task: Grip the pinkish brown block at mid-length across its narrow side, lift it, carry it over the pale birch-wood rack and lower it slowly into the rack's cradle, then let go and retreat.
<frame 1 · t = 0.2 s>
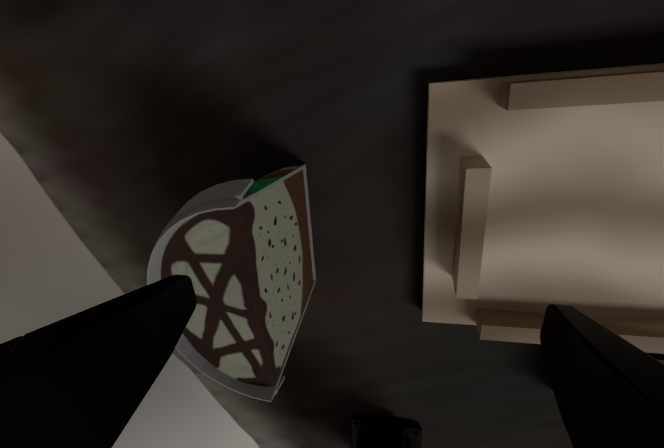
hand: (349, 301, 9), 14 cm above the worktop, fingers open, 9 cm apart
rack: (618, 213, 20), on the worktop
food container: (272, 224, 25), on the worktop
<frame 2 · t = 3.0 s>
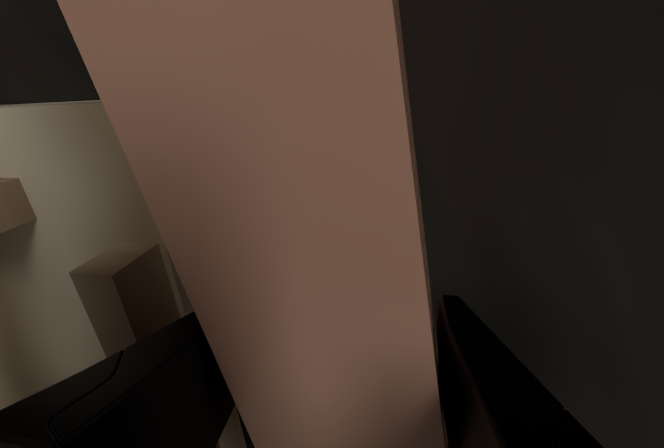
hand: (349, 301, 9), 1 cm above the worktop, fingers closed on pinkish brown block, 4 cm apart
rack: (67, 370, 15), on the worktop
pinkish brown block: (356, 273, 10), on the worktop, touching gripper
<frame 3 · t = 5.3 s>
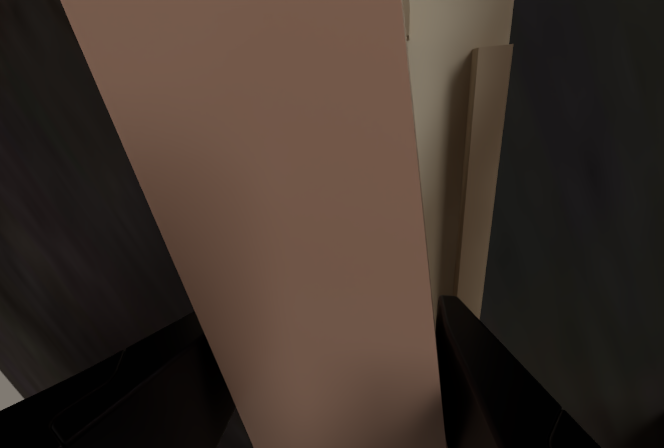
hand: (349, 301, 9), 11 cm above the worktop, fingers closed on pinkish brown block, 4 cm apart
rack: (337, 203, 20), on the worktop
pinkish brown block: (356, 272, 10), point 10 cm above the worktop, touching gripper
when the fingers open (3 cm above the worktop, at t = 7.7 s): pinkish brown block stays where it is, resting on rack.
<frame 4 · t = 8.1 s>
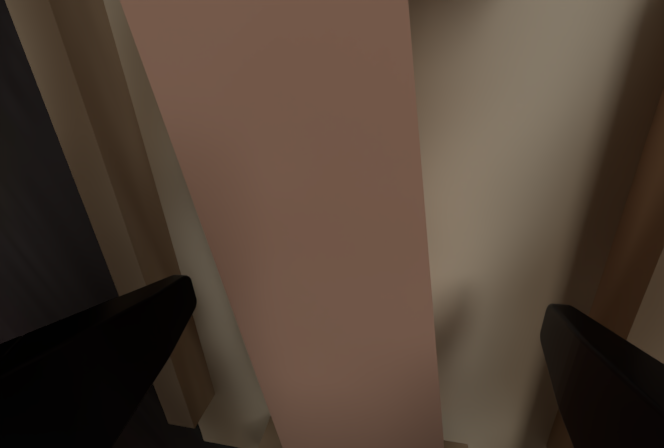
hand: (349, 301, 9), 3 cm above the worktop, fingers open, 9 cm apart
rack: (364, 240, 12), on the worktop
pinkish brown block: (360, 256, 10), point 1 cm above the worktop, touching rack
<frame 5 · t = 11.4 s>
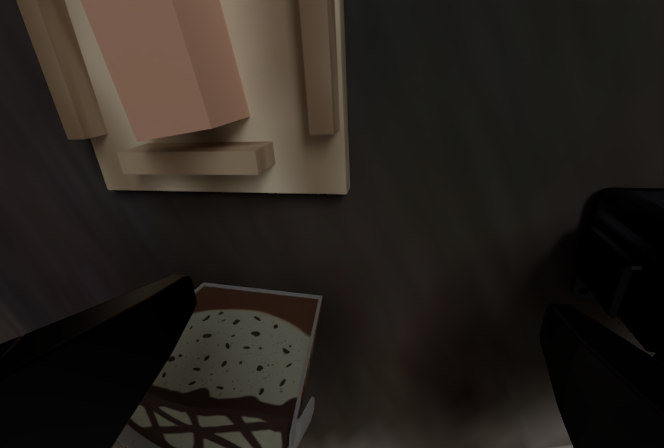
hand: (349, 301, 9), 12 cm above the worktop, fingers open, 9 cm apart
food container: (266, 320, 26), on the worktop
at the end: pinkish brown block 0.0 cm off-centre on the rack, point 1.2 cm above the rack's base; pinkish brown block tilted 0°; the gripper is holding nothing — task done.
